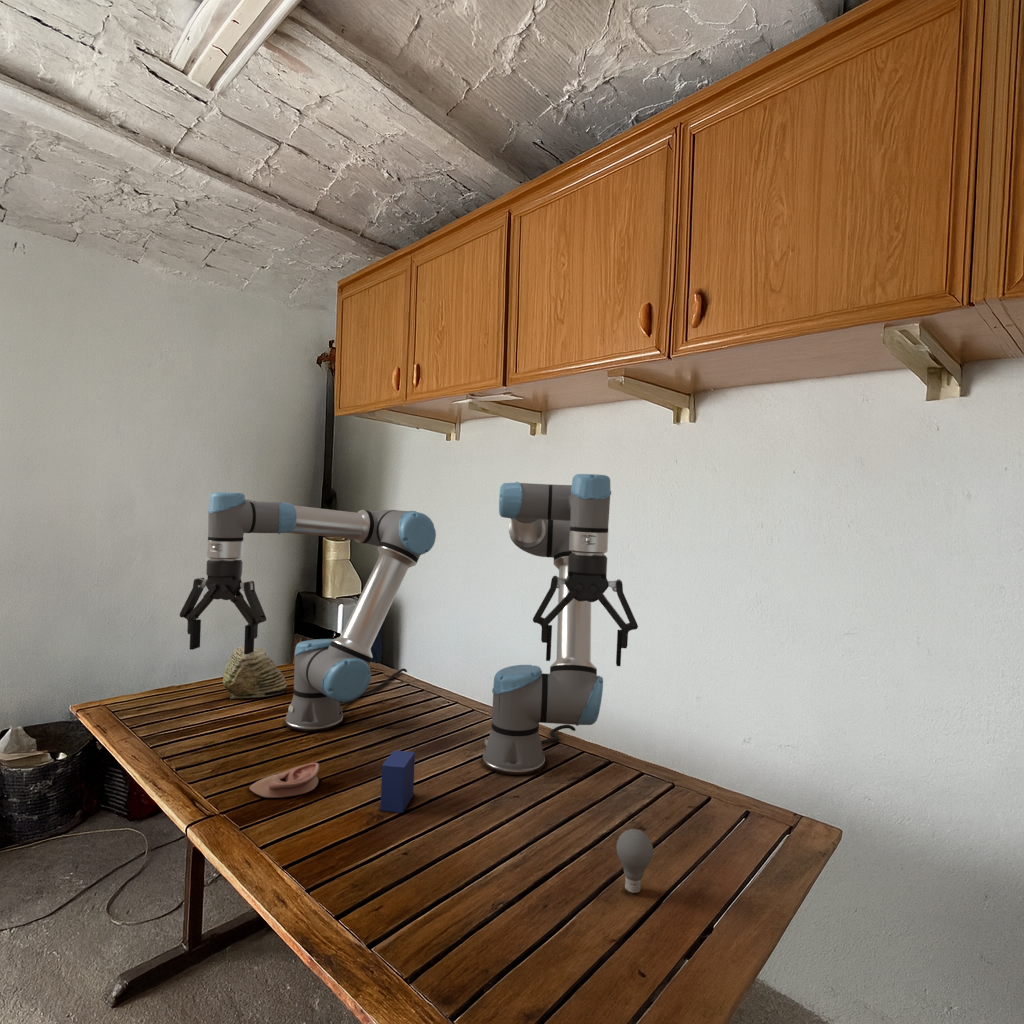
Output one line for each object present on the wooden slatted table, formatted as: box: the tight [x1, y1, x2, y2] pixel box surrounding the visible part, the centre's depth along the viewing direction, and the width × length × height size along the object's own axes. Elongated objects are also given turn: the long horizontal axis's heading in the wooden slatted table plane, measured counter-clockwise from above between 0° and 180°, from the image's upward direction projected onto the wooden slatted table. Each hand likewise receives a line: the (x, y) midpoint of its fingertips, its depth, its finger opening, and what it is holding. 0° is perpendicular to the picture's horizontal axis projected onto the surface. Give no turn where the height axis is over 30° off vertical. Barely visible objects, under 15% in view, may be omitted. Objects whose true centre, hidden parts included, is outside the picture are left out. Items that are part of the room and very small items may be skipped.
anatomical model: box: [249, 762, 320, 799], centre depth 137 cm, size 13×4×12 cm
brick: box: [379, 749, 416, 814], centre depth 133 cm, size 5×8×9 cm, turn 173°
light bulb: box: [615, 828, 654, 894], centre depth 106 cm, size 6×6×10 cm
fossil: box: [222, 646, 288, 699], centre depth 198 cm, size 9×18×15 cm, turn 132°
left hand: (221, 650), depth 146 cm, fingers open, 13 cm apart
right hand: (583, 662), depth 124 cm, fingers open, 13 cm apart
